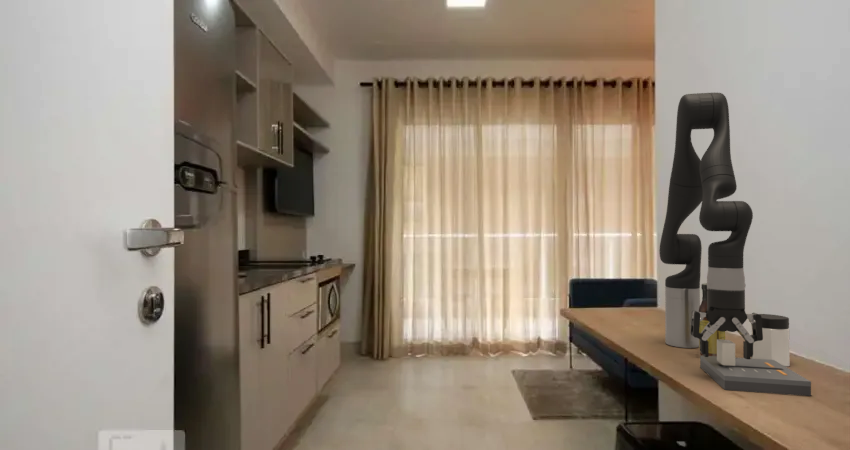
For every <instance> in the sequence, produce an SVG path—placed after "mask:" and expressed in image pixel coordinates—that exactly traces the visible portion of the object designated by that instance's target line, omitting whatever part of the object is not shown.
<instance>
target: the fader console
mask: <svg viewBox="0 0 850 450" xmlns="http://www.w3.org/2000/svg"><path fill="white" fill-rule="evenodd" d="M699 364H700V365H699V366H700V367H699V368H700V369H702V371H703V372H704V373H706V374H707V376H709V377H710V379H712V380H713V381H714V382H716V384H717V385H719V386H720V387H721V388H722V389H723V390H725V391H737V392H747V393H748V392H749V393H750V392H751V393H763V394H764V393H765V394H776V395H777V394H779V395H791V396H803V397H804V396H805V397H811V396H812V381H811V380H809V379H807V378H806V377H804V376H802V375H801V374H799V373H797V372H795V371H794V370H792V369H790V368H789V367H786V366H783V365H781V364H780V363H778V362H776V361H775V360H768V359H752V358H751V357H750V359H745V358H744V357H735V366H730V365H728V367H725V366H723V365H722V364H721V363H719V362H718V361H717V356H708V357H704V356H701V354H700V356H699Z"/></svg>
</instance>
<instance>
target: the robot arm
mask: <svg viewBox="0 0 850 450" xmlns="http://www.w3.org/2000/svg"><path fill="white" fill-rule="evenodd" d="M677 106H678V107H677V112H676V113H677V114H676V125H675V127H676V128H675V142H674V144H675V146H674V154H673V160H672V166H671V167H672V168H671V173H670V180H669V184H668V185H669V187H668V194H667V206H666V213H665V220H664V224H663V228H662V233H661V237H660V242H659V250H658V251H659V258H660V261H661V262H662V263H664V264H666V265H682V266H683V265H685V268H683V270H681V271H680V272H678V273H676V274H673V275H668V276H667V277H666V278H665V284H664V285H665V287H664V288H665V289H664V290H665V291H664V293H665V294H664V295H665V302H664V303H665V304H664V305H665V307H664V308H665V312H664V313H665V317H664V318H665V325H664V326H665V329H664V330H665V333H664V334H665V335H664V336H665V338H664V339H665V342H664V343H665V344H666V345H668V346H672V347H677V348H685V349H694V348H695V349H696V348H697V349H698V348H699V340H700V350H699V352H701V353H702V354H703V356H704V357H708V356H709V341H707V339H708V338H709V337H710V336H711V335H712V334H714V333H715V331H716V330H718V331H721V332H724V331H725V332H730V333H735V332H737V333H738V335H740V336H741V337H742V338H743V340H744V341H743V343H742V344H743V345H742V347H743V349H742V350H743V353H742V355H743V358H745V359H750V358H751V357H752V356H753V343H754V342H755V341H762V340H763V332H762V318H761V315H759V314H760V313H758V312H757V313H756V312H752V313H746V280H745V279H746V278H745V276H746V275H745V271H744V252H745V251H744V250H745V246H746V242H747V237H748V235H749V231H750V228H751V224H752V222H753V218H754V216H753V214H754V213H753V209H752V207H751V205H750V204H749V203H747V202H746V201H743V200H722V199H724V198H729V197H730V196H733V194H735V193H736V191H737V181H736V175H735V171H734V167H733V163H732V154H731V129H730V111H729V104H728V100H727V97H726V96H725V94H723V93H722V92H700V93H699V92H697V93H686V94H683V95H682V96H681V98H680V100H679V102H678V105H677ZM693 130H713V138H712V140H711V142H710V144H709V146H708V147H707V149H706V150H705V152H704V153H703V155H702V157H701V159H700V157H699V155H698V154H697V152H696V150H695V148H694V145H693V143H692V131H693ZM700 204H701V205H700ZM699 206H700V211H699V217H698V218H699V220H698V221H699V223H700V225H701V227H702V228H703V229H704V230H706V231H708V232H730V235H729V237H727V238H726V239H724V240H720V241H714V242H712V243H710V244H709V245H708V249H707V273H706V274H707V275H706V283H707V310H706V312H699V307H700V305H701V266H702V249H703V248H702V240H701V237H700V236H699V235H697V233H696V234H695V233H678V232H679V230H680V228H681V226H682V225H683V223H684V222H685V220H686V219H687V218H688V217H689V216H690V215H691V214H693V212H694V211H695V210H696V209H697V208H698V207H699ZM704 317H706V319H707V320H708V321H709V323H708V324H707V325H706V326H705V328H704V330H703V331H702V332H701V333H699V327H700V321H702V320H703V318H704ZM747 320H748V322H750V324H751V323H752V332H753V335H750V333H749V332H748V330H747V328H745V326H744V323H745V322H746V321H747ZM713 328H714V329H713Z"/></svg>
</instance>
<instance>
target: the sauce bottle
mask: <svg viewBox="0 0 850 450" xmlns="http://www.w3.org/2000/svg"><path fill="white" fill-rule="evenodd" d="M700 289H701V291H702V292H701V293H702V298H701V301H700V307H699V312H706V310H707V282H704V283H701V285H700ZM708 323H709V321H708V320H707V319H706V317H704V318H703V320H702V321H700V327H699V333H701V332H702V331H703V330H704V328H705V326H706V325H707V324H708ZM713 329H714V328H713ZM717 339H721V340H726V331H724V332H721V331H718V330H716V331H715V333H714V334H712V335H711V336H710V337H709V338H708V339H707V341H709V356H717ZM698 349H699V352H700V340H699V347H698ZM700 355H701V356H703V354H702V353H701V352H700Z"/></svg>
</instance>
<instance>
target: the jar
mask: <svg viewBox="0 0 850 450" xmlns="http://www.w3.org/2000/svg"><path fill="white" fill-rule="evenodd" d="M758 314H759V315H761V318H762V332H763V340H762V341H755V342H754V343H753V356H752V357H750V358H751V359H768V360H775V361H776V362H778V363H780V364H781V365H783V366H785V367H787V368H789V367H790V360H791V359H790V329H789V328H790V318H789V317H788V316H785V315H778V314H777V315H776V314H769V313H758ZM750 324H751V326H750V327H751V328H750V330H751V331H750V332H751V335H753V332H752V323H751V322H750Z"/></svg>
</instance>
